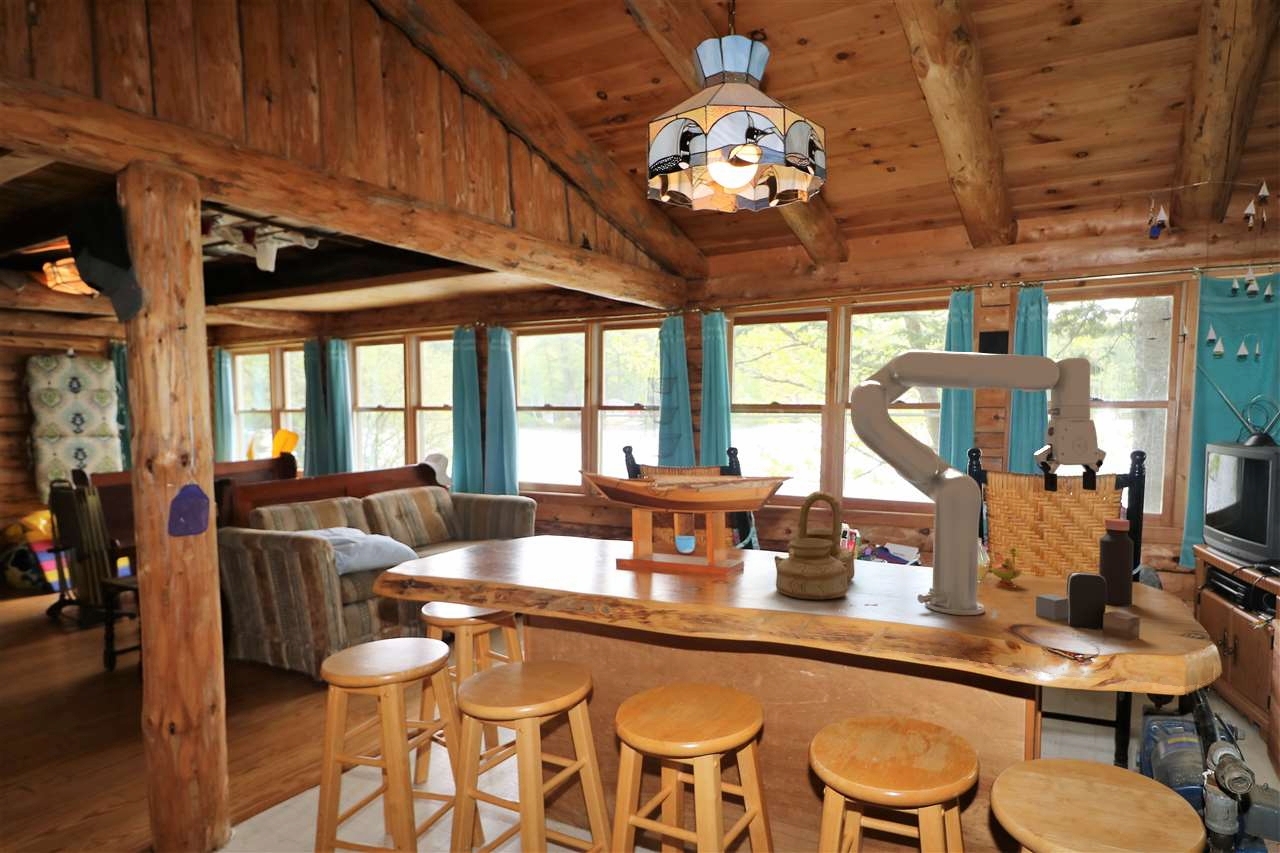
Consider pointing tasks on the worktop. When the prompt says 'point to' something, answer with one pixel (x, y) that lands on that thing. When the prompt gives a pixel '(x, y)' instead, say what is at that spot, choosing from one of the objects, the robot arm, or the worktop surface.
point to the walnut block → (1121, 625)
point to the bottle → (1117, 562)
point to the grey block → (1052, 606)
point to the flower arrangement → (1005, 569)
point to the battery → (1086, 599)
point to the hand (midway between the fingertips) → (1070, 490)
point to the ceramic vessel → (816, 557)
